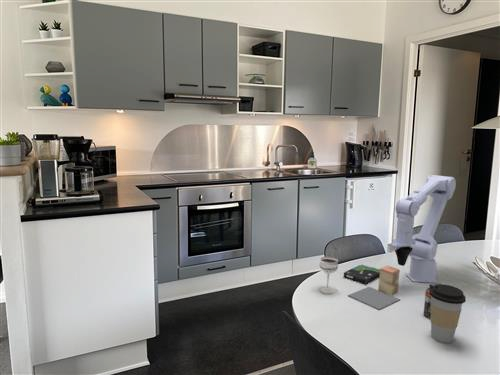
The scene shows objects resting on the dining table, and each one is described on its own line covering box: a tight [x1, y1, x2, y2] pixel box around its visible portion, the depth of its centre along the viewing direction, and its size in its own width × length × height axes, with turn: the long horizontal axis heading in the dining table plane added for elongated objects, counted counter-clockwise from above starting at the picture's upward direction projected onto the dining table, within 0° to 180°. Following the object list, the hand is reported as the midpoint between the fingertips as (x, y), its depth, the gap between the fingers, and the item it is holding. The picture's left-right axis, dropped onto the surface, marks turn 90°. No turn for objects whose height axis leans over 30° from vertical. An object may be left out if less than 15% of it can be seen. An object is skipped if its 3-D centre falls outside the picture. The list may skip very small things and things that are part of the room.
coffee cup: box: [429, 283, 466, 344], centre depth 110 cm, size 9×9×15 cm
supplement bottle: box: [423, 281, 442, 320], centre depth 123 cm, size 6×6×11 cm
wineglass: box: [319, 256, 339, 294], centre depth 141 cm, size 7×7×12 cm
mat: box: [347, 286, 401, 311], centre depth 136 cm, size 13×13×1 cm
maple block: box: [377, 265, 401, 296], centre depth 141 cm, size 5×5×9 cm
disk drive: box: [343, 264, 380, 286], centre depth 156 cm, size 10×3×15 cm
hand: (401, 264), depth 146 cm, fingers closed
